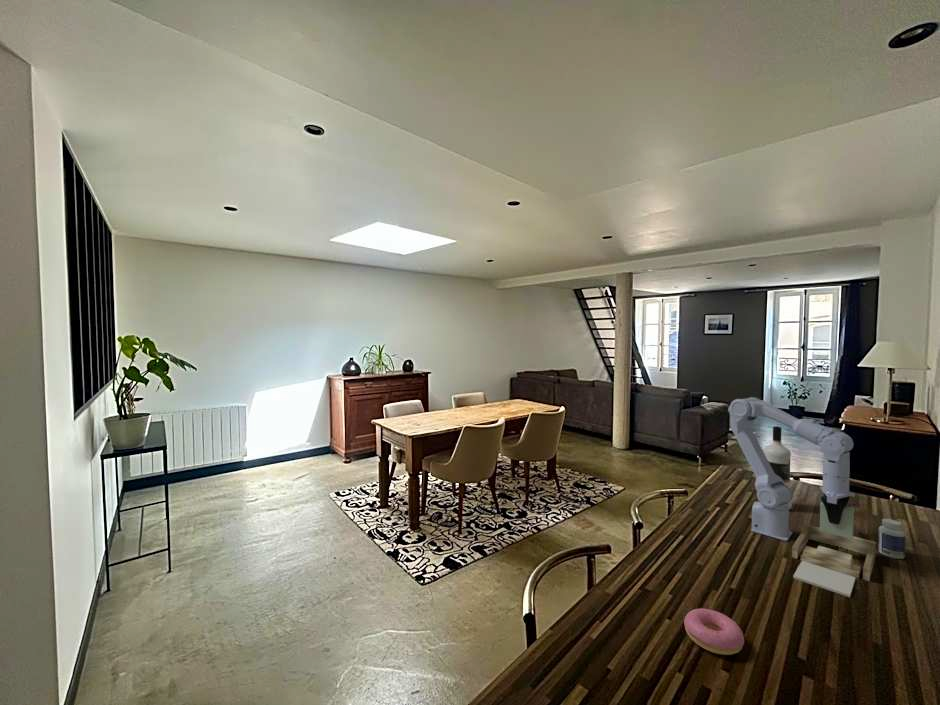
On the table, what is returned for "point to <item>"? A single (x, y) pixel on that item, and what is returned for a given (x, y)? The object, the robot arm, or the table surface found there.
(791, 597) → the table surface
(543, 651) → the table surface
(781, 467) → the vodka
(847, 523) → the green panel
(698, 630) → the doughnut
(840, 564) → the rack
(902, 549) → the pill bottle
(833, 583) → the grey pad
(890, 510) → the table surface
